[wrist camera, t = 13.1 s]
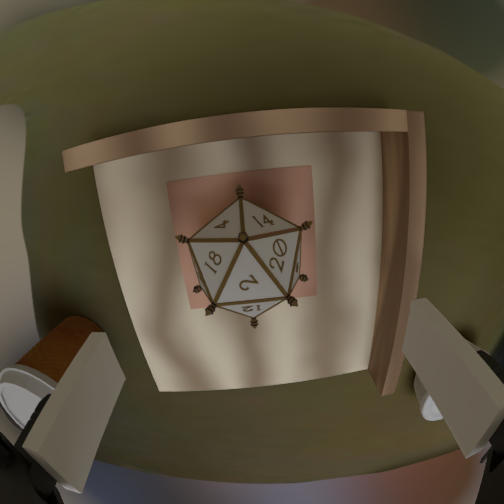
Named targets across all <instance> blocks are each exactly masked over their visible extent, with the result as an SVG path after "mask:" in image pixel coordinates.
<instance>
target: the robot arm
mask: <svg viewBox="0 0 504 504" xmlns="http://www.w3.org/2000/svg"><path fill="white" fill-rule="evenodd" d="M402 352H403V353H404V355H405V356H406V358H407V359H408V361H409V362H410V364H411V366H412V367H413V369H414V370H415V372H416V374H417V375H418V377H419V378H420V380H421V382H422V383H423V385H424V386H425V388H426V390H427V391H428V393H429V395H430V396H431V398H432V400H433V401H434V403H435V405H436V406H437V408H438V410H439V411H440V413H441V415H442V417H443V418H444V420H445V422H446V424H447V425H448V427H449V429H450V431H451V433H452V434H453V436H454V438H455V440H456V442H457V443H458V445H459V447H460V449H461V451H462V453H463V455H464V456H465V458H468V457H470V456H472V455H474V454H476V453H477V452H479V451H481V450H482V449H483V448H484V446H485V445H486V443H487V442H488V441H489V442H490V444H491V445H492V446H491V448H490V449H489V450H488V451H487V453H486V454H485V455H484V456H483V457H482V459H481V461H480V463H483V461H484V460H485V459H486V458H487V461H486V466H485V470H484V474H483V478H482V482H481V485H480V489H479V493H478V496H477V499H476V502H475V504H504V370H503V369H502V367H501V366H499V364H498V363H497V362H496V361H495V359H494V358H493V357H492V356H491V355H489V354H487V353H486V352H484V351H482V350H479V351H475V350H474V349H473V348H472V347H471V345H470V344H469V343H468V342H467V341H466V340H465V339H464V338H463V336H462V335H461V334H460V333H459V332H458V331H457V330H456V329H455V328H454V327H453V326H452V325H451V324H450V322H449V321H448V320H447V319H446V318H445V317H444V316H443V315H442V314H441V313H440V312H439V311H438V310H437V309H436V308H435V307H434V306H433V305H432V304H431V303H430V302H429V301H428V300H427V299H426V298H422V299H417V300H412V301H411V306H410V312H409V317H408V323H407V328H406V333H405V338H404V343H403V348H402ZM125 379H126V378H125V376H124V374H123V372H122V370H121V367H120V365H119V363H118V361H117V358H116V356H115V354H114V351H113V349H112V347H111V344H110V342H109V340H108V337H107V335H106V332H91V334H90V335H89V337H88V338H87V340H86V341H85V343H84V344H83V346H82V347H81V349H80V350H79V352H78V353H77V355H76V356H75V358H74V359H73V361H72V362H71V364H70V365H69V367H68V369H67V370H66V372H65V373H64V375H63V376H62V378H61V380H60V381H59V383H58V384H57V386H56V388H55V389H54V391H53V393H52V394H47V395H46V396H45V397H44V398H43V399H42V400H41V401H40V402H39V403H38V405H37V407H36V408H35V410H34V412H33V413H32V415H31V417H30V420H28V422H27V424H26V425H25V427H24V429H23V431H22V432H21V434H20V436H19V438H18V440H17V441H16V443H15V445H14V446H13V445H12V444H11V443H10V442H9V440H8V439H7V438H6V437H5V436H4V435H3V434H2V433H1V432H0V504H64V503H63V500H62V498H61V496H60V493H59V491H58V489H57V488H56V487H55V485H56V482H58V483H60V484H61V485H62V486H63V487H64V488H65V489H68V490H71V491H74V492H77V493H80V494H81V493H82V491H83V488H84V485H85V482H86V480H87V476H88V474H89V471H90V468H91V465H92V462H93V460H94V457H95V454H96V452H97V449H98V446H99V443H100V441H101V438H102V436H103V433H104V430H105V428H106V425H107V423H108V420H109V418H110V415H111V413H112V410H113V408H114V405H115V403H116V400H117V398H118V396H119V393H120V391H121V388H122V386H123V384H124V381H125Z"/></svg>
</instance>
